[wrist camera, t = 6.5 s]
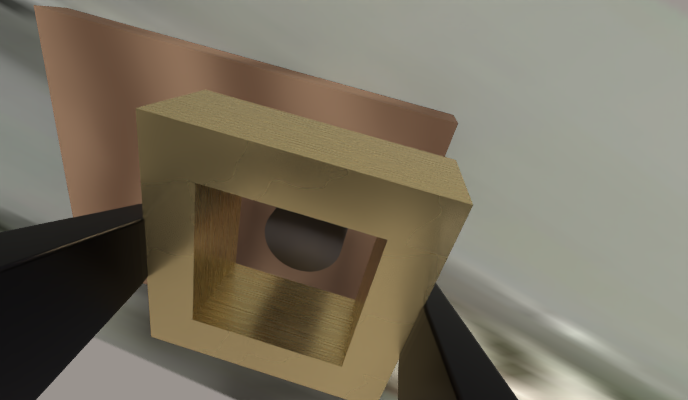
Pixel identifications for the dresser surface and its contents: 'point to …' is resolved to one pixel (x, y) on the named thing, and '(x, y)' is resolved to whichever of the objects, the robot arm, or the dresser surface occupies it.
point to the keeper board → (224, 78)
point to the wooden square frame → (303, 198)
